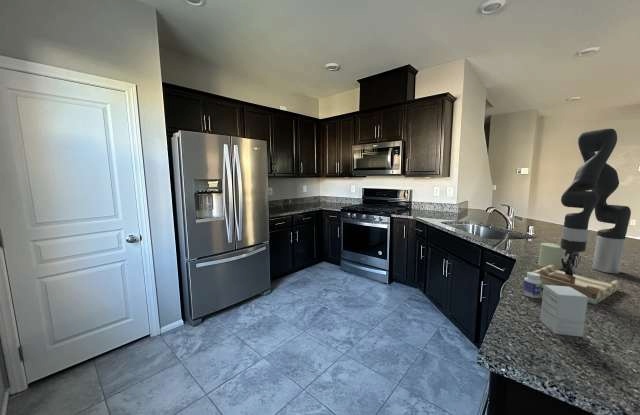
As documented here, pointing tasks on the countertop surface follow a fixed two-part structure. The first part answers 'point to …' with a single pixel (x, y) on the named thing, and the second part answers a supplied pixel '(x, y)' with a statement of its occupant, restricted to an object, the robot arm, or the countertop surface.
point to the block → (563, 277)
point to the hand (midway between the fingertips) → (568, 278)
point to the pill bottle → (532, 285)
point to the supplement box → (563, 310)
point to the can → (550, 255)
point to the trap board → (579, 284)
